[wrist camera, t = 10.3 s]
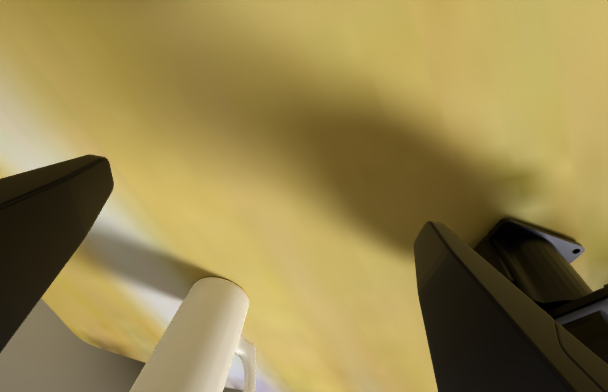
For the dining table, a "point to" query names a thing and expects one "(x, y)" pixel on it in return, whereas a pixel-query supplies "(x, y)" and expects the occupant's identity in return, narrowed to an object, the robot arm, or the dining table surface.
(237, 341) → the mug
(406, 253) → the dining table surface
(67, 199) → the robot arm
